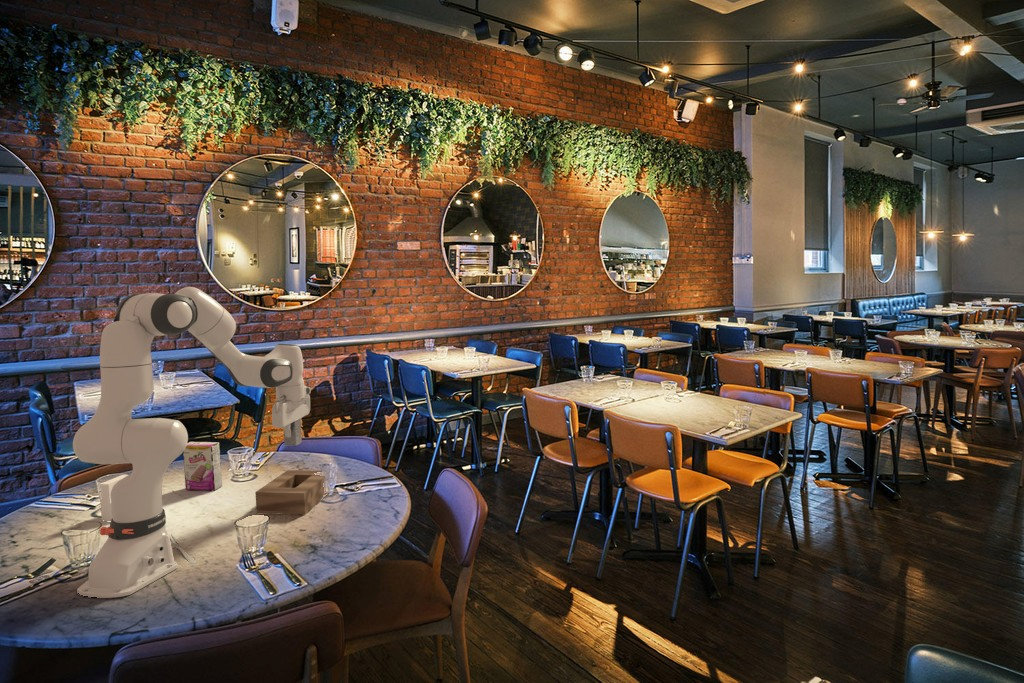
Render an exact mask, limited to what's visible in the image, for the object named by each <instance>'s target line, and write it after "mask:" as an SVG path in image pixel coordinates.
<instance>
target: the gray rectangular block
mask: <svg viewBox="0 0 1024 683" xmlns="http://www.w3.org/2000/svg"><path fill="white" fill-rule="evenodd" d="M301 425H302V419H301V420H300V419H298V420H296V421H294V422H293V423H291V427H290V429H291V431H292V436H291V437H285V431H284V430H283V441H284V442H283V444H284V446H291V447H293V446H297V445H300V444H301V443H302V440H303V439H302V426H301Z"/></svg>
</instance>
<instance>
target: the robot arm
mask: <svg viewBox="0 0 1024 683" xmlns="http://www.w3.org/2000/svg"><path fill="white" fill-rule="evenodd" d="M236 329H237V322H236V320H235V319H234V317H233V315H232V314H231V313H230V312H229V311H228V310H227V309H226V308H225V307H224V306H223V305H221V304H220V303H219V302H218V301H217V300H215V299H214V298H213V297H212V296H210V295H209V294H207V293H206V292H204V291H202V290H201V289H200V288H197V287H194V286H185V287H183V288H180V289H179V290H177V291H176V292H175V293H160V292H146V293H136V294H135V293H134V294H131V295H129V296H126V297H125V298H124V299H122V300H121V302H119V304H118V306H117V308H116V312H115V316H114V318H113V322H110V323H109V324H107V325H106V326H105V327H104V328H103V330H102V332H101V338H100V345H99V346H100V348H99V366H100V367H99V370H100V383H101V384H100V400H99V404H98V405H97V407H96V410H95V412H94V414H93V415H92V417H90V418H89V420H88V421H86V422H85V423H84V424H83V425H82V426H81V427H79V429H78V430H77V431H76V432H75V434H74V436H73V439H72V440H73V441H72V449H73V452H74V454H75V456H76V457H77V458H78V460H79V461H80V462H83V463H87V464H95V465H116V464H117V465H118V464H119V465H120V464H131V465H132V471H131V473H130V474H127V475H128V476H126V477H124V478H123V479H121V480H119V481H118V482H117V483H116V484H115V485H114V486H113V488H112V490H111V494H110V495H111V506H112V517H113V518H112V519H111V522H109V523H110V524H109V526H101V527H100V529H99V532H98V533H99V535H100V536H107V537H108V538H107V540H106V541H105V542H104V544H103V545H102V547H101V548H100V549H99V550H98V552H97V554H96V555H95V557H94V558H93V560H91V562H90V564H89V567H88V579H87V580H86V581H85V582H84V583H82V584H81V585H80V586H79V587H78V588H77V589H76V591H77V592H78V593H79V594H80V595H79V594H78V593H77V592H76V593H77V594H78V595H79V596H81V595H83V596H82V597H84V596H88V597H87V598H91V597H97V598H96V599H113V598H121V597H126V596H129V595H131V594H134V593H136V592H137V591H140V590H141V589H143V588H145V587H147V586H148V585H150V584H152V583H153V582H156V581H157V580H159V579H160V578H162V577H164V576H166V575H167V574H170V573H171V572H174V571H175V570H176V569H178V567H179V565H178V562H177V561H176V560H175V558H174V554H173V549H172V548H173V547H172V546H171V544H172V542H171V540H170V538H171V536H170V535H169V534H168V531H167V530H166V526H165V525H166V523H167V522H166V521H167V520H166V518H167V516H166V510H165V509H164V508H163V481H164V476H165V474H166V471H167V470H168V468H169V467H170V465H171V464H172V463H173V462H174V461H175V460H176V459H177V458H179V457H180V456H181V455H183V451H184V450H185V448H186V446H187V443H189V442H188V441H189V434H188V431H187V428H186V427H185V425H184V424H183V423H182V421H180V420H176V419H171V418H162V417H157V418H156V417H153V418H152V417H151V418H132V413H133V410H134V408H135V407H137V406H139V405H141V404H142V403H145V402H146V401H147V400H149V399H150V397H151V396H152V395H153V392H154V389H155V388H154V374H153V372H154V371H153V360H152V351H151V349H152V348H151V347H152V344H153V343H152V342H153V340H154V338H155V337H159V336H160V337H162V336H176V335H180V334H182V333H184V332H187V331H188V332H189V333H190V334H191V335H192V336H194V337H195V338H196V339H197V340H198V341H200V342H201V343H202V345H203V346H204V347H205V348H206V349H207V350H208V351H209V352H210V354H212V355H213V356H214V357H215V359H217V360H218V361H219V362H220V363H221V364H222V365H223V366H224V367H225V369H226V370H227V372H228V374H229V375H230V378H231V380H232V381H233V382H234V383H235V384H236V385H237V386H240V387H243V388H245V387H246V388H247V387H254V388H265V389H271V388H275V398H276V399H275V402H274V404H273V406H272V408H271V425H272V427H273V428H275V429H276V428H277V429H279V428H280V429H281V428H282V429H283V432H284V431H285V437H291V436H292V431H291V429H290V427H291V423H293V422H294V421H296V420H298V419H300V420H301V421H302V418H304V417H306V416H309V414H310V411H311V395H310V394H311V391H312V389H311V387H310V386H306V385H305V380H304V377H303V374H304V360H303V359H304V358H303V353H302V350H301V348H300V346H298V345H296V344H290V343H289V344H288V343H277V344H276V345H275V347H274V348H273V349H272V350H271V351H270V352H269V353H267V354H265V355H264V356H256V355H250V354H246V353H243V352H242V351H240V350H239V348H237V346H235V345H234V343H233V342H232V341H231V339H232V338H233V336H234V335H235V333H236ZM169 536H170V537H169Z"/></svg>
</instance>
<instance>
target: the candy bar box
mask: <svg viewBox="0 0 1024 683" xmlns="http://www.w3.org/2000/svg"><path fill="white" fill-rule="evenodd" d="M220 449H221V447H220V442H215V441H213V442H212V441H189V442H187V446H186V448H185V450H184V451H183V453H182V457H183V458H182V460H183V469H184V472H183V473H184V486H185V487H184V488H185V490H187V491H208V490H213V491H214V492H215V491H218V489H220V488H221V487H223V480H222V465H221V464H222V463H221V450H220ZM213 491H212V492H213Z"/></svg>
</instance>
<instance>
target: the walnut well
mask: <svg viewBox="0 0 1024 683" xmlns="http://www.w3.org/2000/svg"><path fill="white" fill-rule="evenodd" d="M322 471H323V470H311V469H310V470H308V469H305V470H304V469H303V470H302V469H301V470H300V469H288V470H285V471H284V472H283V473H281V474H280V475H278V476H277V477H276V478H274V479H272V480H271V481H269V482H268V483H266V484H265V485H263V486H262V487H261V488H259V489H258V490H257V491H255V507H256V514H257V513H270V514H269V515H273V514H272V513H275V514H274V515H277V514H276V513H282V514H281V515H291V514H306V513H307V512H308V513H309V512H310V511H311V510H312V509H314V508H315V507H316V506H317V505H319V503H321V499H322V497H323V495H324V487H323V483H324V478H325V476H320V475H315V474H314V473H317V472H322ZM315 505H316V506H315ZM314 506H315V507H314ZM313 507H314V508H313ZM308 513H307V514H308ZM307 514H306V515H307Z"/></svg>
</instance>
